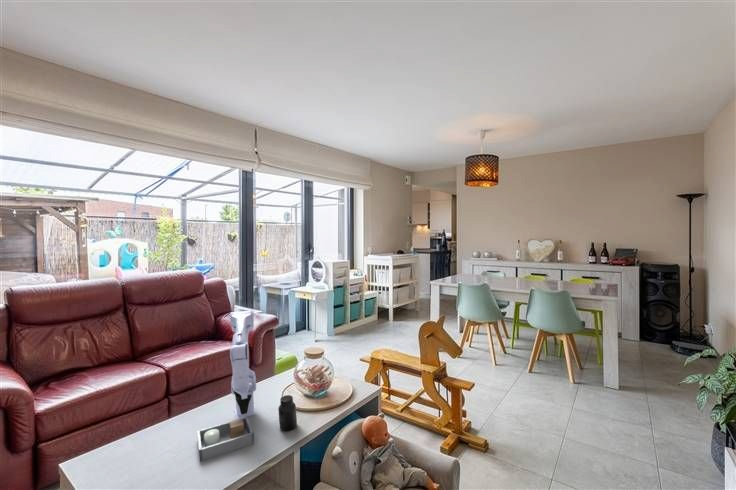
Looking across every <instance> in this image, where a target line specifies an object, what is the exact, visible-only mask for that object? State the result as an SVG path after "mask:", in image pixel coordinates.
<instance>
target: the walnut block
mask: <svg viewBox="0 0 736 490" xmlns="http://www.w3.org/2000/svg"><path fill="white" fill-rule="evenodd" d="M234 420H235V421H233V420H231V422H230V421H228V422H229V423H230V438H231V439H233V438H236V437H239V436H243V435H244V423H243V420H242V419H238V420H237V419H234Z"/></svg>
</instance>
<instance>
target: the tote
mask: <svg viewBox="0 0 736 490" xmlns="http://www.w3.org/2000/svg"><path fill="white" fill-rule="evenodd" d="M240 419H242V420H243V423H244V435H243V436H239V437H236V438H233V439H231V438H230V423H229V422H231V421H235V420H238V419H237V418H236V419H234V420H231V421H227V422H223V423H219V424H216V425H213V426H210V427H206V428H203V429H199V430H197V431H196V434H197V435H196V436H197V444H198V445H197V446H198V447H197V448H198V455H199V456H198V457H199V462H202V461H206V460H209V459H211V458H215V457H218V456H220V455H224V454H226V453H229V452H234V451H237V450H239V449H242V448H245V447H248V446H251V445H254V444H255V436H254V435H255V434H254V433H255V432H254V431H253V427H252V425H251V422H250V420H249V416H247V417H243V418H240ZM212 429H218V430H219V437H220V443H217V444H214V445H211V446H207V447H205V441H204V434H205V433H206V432H207V431H209V430H212Z"/></svg>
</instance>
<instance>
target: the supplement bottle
mask: <svg viewBox="0 0 736 490" xmlns="http://www.w3.org/2000/svg"><path fill="white" fill-rule="evenodd" d="M296 405H297V404H296V403H295V402H294V397H293V396H292V395H290V394H288V395H284V396H281V397H280V404H279V406H278V410H277V411H278V421H279V422H278V423H279V424H278V425H279V430H281V431H282V432H291V431H293V430H295V429H296V428H297V426H298V422H297V420H298V417H297V406H296Z"/></svg>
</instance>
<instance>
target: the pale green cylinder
mask: <svg viewBox="0 0 736 490" xmlns="http://www.w3.org/2000/svg"><path fill="white" fill-rule="evenodd" d="M204 441H205V447H207V446H211V445H214V444H217V443H220V437H219V430H218V429H212V430H209V431H207V432H206V433H205V434H204Z"/></svg>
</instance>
